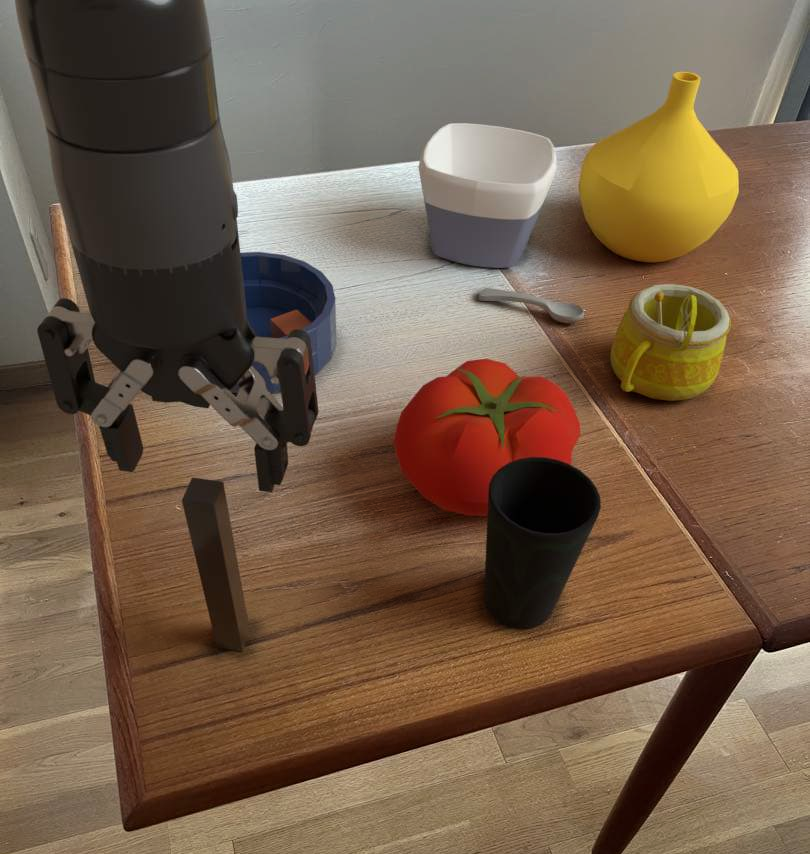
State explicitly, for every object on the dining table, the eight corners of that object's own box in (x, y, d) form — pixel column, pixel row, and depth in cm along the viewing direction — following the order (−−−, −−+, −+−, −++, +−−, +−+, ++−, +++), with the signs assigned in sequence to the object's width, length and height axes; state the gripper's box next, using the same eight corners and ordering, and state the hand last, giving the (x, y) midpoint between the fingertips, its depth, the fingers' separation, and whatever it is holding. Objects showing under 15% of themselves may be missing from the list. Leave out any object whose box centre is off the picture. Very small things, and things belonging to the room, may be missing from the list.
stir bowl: (150, 386, 80) (137, 334, 76) (202, 294, 91) (194, 243, 87) (316, 408, 79) (314, 357, 75) (349, 312, 90) (349, 262, 86)
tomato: (361, 476, 73) (361, 388, 66) (489, 402, 81) (502, 316, 73) (474, 572, 67) (488, 486, 59) (602, 482, 74) (629, 396, 67)
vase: (725, 289, 96) (789, 119, 82) (569, 273, 97) (605, 103, 83) (705, 213, 108) (758, 53, 94) (566, 200, 109) (598, 40, 95)
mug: (643, 331, 90) (675, 228, 81) (731, 378, 85) (775, 274, 76) (571, 379, 84) (597, 274, 75) (661, 433, 79) (700, 327, 70)
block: (272, 345, 85) (269, 318, 82) (298, 335, 86) (297, 308, 83) (288, 361, 83) (286, 334, 80) (315, 351, 84) (313, 324, 82)
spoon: (579, 330, 89) (581, 314, 88) (475, 309, 93) (476, 293, 91) (586, 316, 91) (588, 300, 90) (484, 296, 95) (485, 280, 93)
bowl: (549, 224, 105) (565, 134, 96) (531, 287, 95) (548, 193, 86) (432, 204, 107) (438, 115, 98) (402, 265, 97) (406, 171, 88)
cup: (455, 576, 66) (470, 469, 57) (539, 553, 68) (567, 446, 59) (495, 652, 62) (519, 549, 53) (584, 624, 64) (622, 520, 55)
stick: (216, 648, 61) (181, 500, 49) (224, 626, 62) (191, 476, 50) (242, 652, 61) (213, 504, 49) (250, 630, 62) (223, 481, 50)
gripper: (-37, 241, 35) (62, 500, 48) (286, 283, 35) (302, 535, 47) (38, 164, 40) (110, 416, 53) (323, 198, 40) (329, 446, 52)
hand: (201, 472), depth 50 cm, fingers open, 8 cm apart
